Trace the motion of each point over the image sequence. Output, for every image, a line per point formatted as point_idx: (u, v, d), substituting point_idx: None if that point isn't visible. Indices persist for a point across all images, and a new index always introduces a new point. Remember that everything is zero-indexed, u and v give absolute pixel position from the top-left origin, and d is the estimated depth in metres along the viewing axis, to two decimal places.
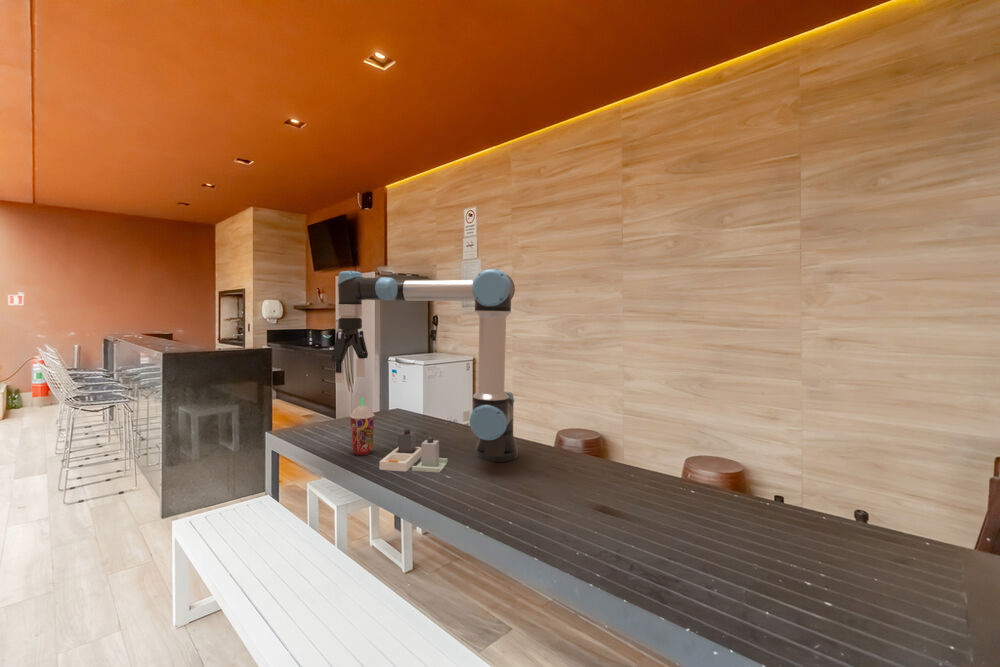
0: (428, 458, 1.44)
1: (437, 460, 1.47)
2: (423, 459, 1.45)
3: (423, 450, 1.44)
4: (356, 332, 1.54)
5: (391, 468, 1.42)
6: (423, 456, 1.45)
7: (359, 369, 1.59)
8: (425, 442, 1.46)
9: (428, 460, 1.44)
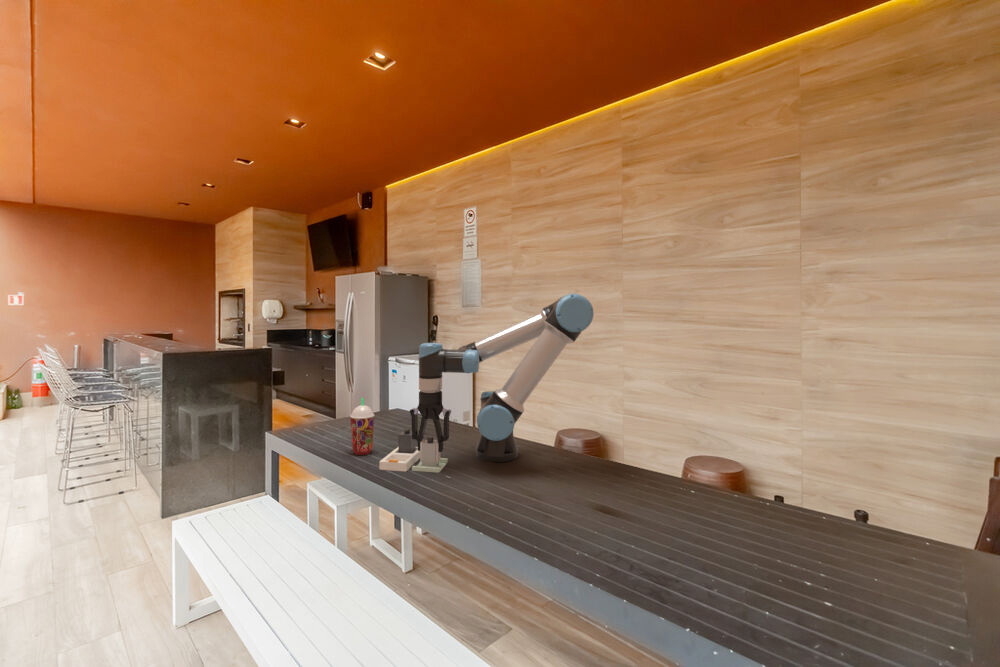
0: (428, 458, 1.44)
1: None
2: (423, 459, 1.45)
3: (423, 450, 1.44)
4: (436, 406, 1.44)
5: (391, 468, 1.42)
6: (423, 456, 1.45)
7: None
8: (425, 442, 1.46)
9: (428, 460, 1.44)
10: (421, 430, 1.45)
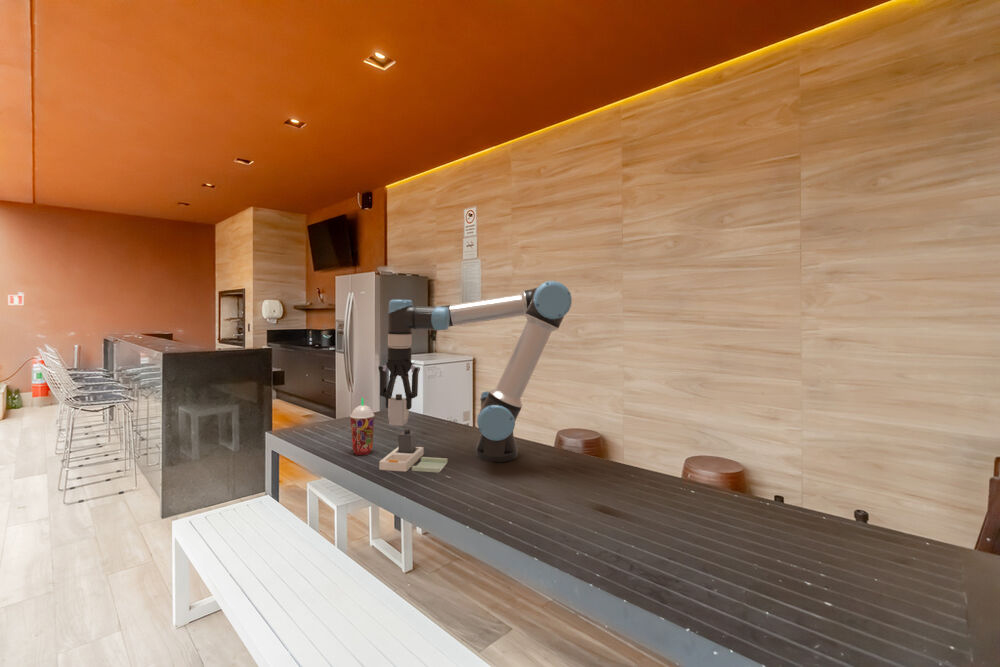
0: (395, 415, 1.44)
1: None
2: (391, 416, 1.44)
3: (391, 407, 1.44)
4: (405, 362, 1.43)
5: (391, 468, 1.42)
6: (391, 413, 1.44)
7: None
8: (393, 399, 1.45)
9: (395, 416, 1.44)
10: (389, 387, 1.45)
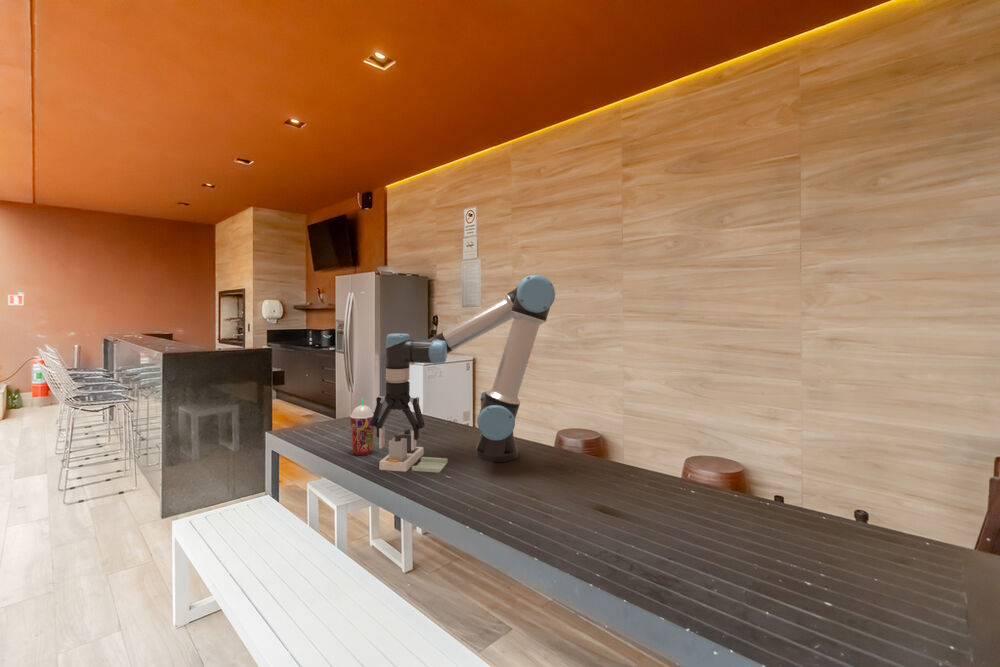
0: (395, 456, 1.44)
1: (405, 458, 1.47)
2: (390, 457, 1.44)
3: (390, 448, 1.44)
4: (403, 397, 1.44)
5: (391, 468, 1.42)
6: (390, 454, 1.44)
7: None
8: (392, 440, 1.46)
9: (395, 458, 1.44)
10: (382, 418, 1.45)
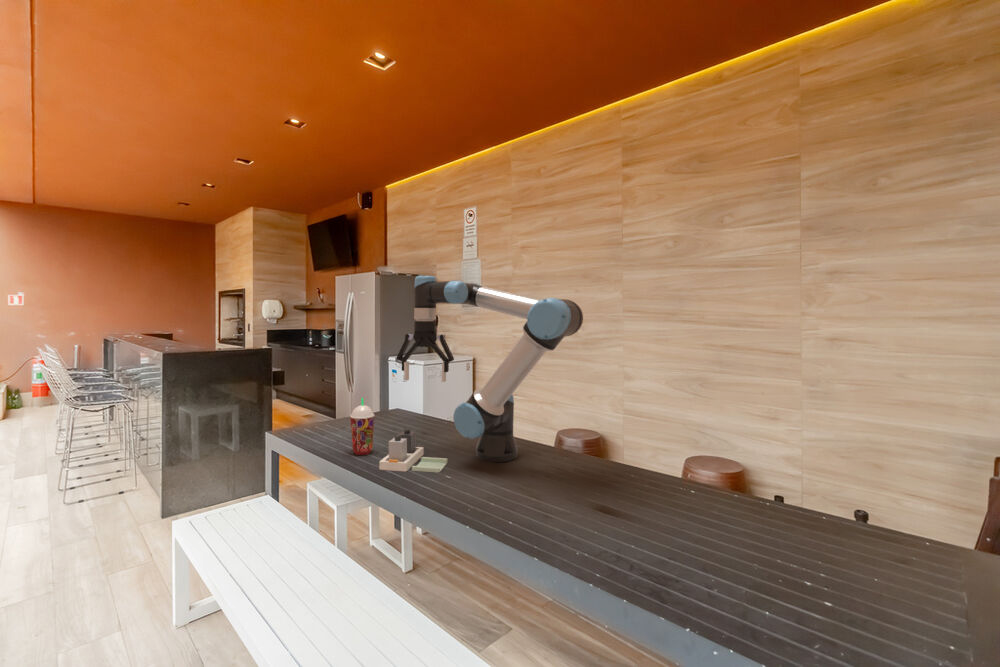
0: (395, 456, 1.44)
1: (405, 458, 1.47)
2: (390, 457, 1.44)
3: (390, 448, 1.44)
4: (430, 335, 1.55)
5: (391, 468, 1.42)
6: (390, 454, 1.44)
7: None
8: (392, 440, 1.46)
9: (395, 458, 1.44)
10: (408, 353, 1.56)
